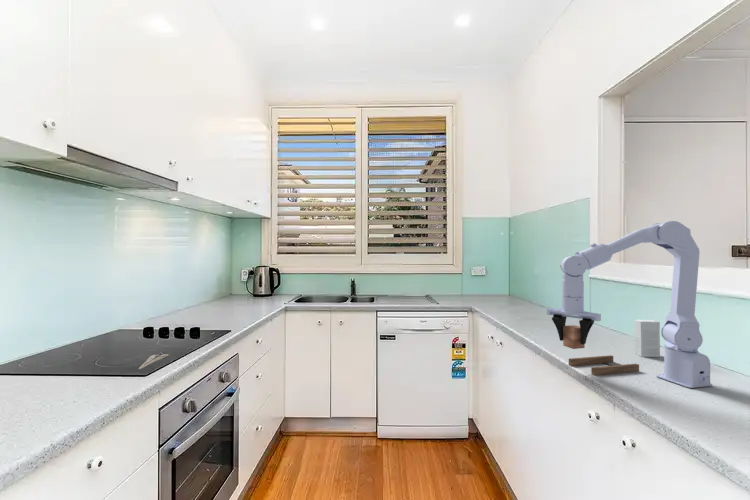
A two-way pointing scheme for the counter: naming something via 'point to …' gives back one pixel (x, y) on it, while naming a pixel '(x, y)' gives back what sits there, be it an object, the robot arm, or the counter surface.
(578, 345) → the terracotta block
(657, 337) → the skincare box
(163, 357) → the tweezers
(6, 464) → the counter surface
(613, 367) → the walnut channel
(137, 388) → the counter surface
